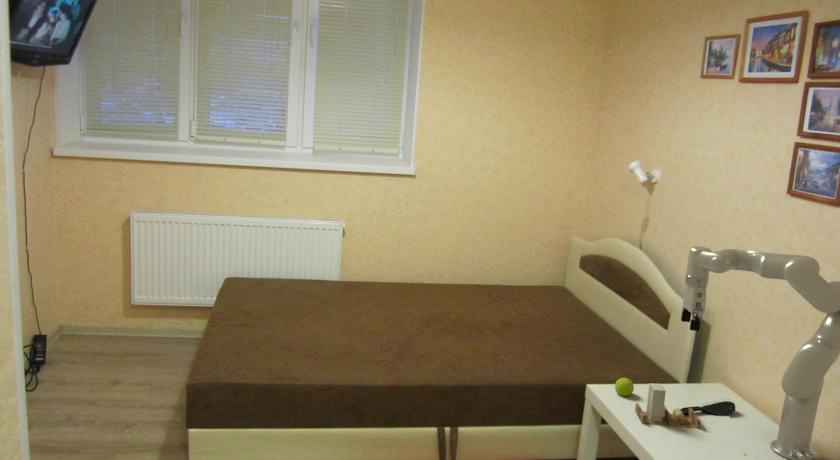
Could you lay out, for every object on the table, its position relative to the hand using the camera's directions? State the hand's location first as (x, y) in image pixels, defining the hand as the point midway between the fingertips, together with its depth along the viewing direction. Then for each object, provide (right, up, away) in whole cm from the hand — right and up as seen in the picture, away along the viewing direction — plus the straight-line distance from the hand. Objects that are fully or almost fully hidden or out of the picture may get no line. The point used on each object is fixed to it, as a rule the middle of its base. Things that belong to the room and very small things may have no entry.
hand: (689, 325), depth 240 cm
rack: (-10, -34, -3) cm, 35 cm away
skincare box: (-14, -33, -3) cm, 36 cm away
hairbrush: (+8, -34, +5) cm, 35 cm away
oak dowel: (-5, -34, -3) cm, 34 cm away
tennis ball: (-19, -30, +16) cm, 39 cm away
